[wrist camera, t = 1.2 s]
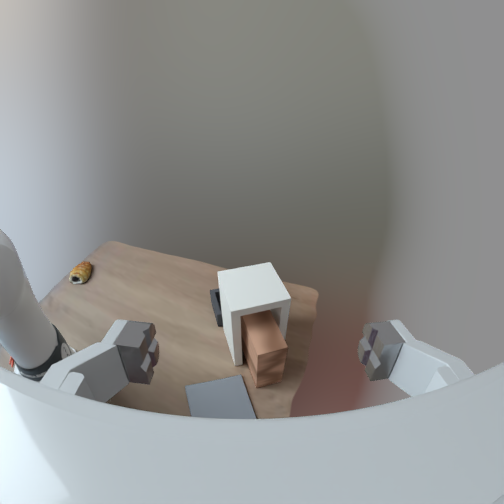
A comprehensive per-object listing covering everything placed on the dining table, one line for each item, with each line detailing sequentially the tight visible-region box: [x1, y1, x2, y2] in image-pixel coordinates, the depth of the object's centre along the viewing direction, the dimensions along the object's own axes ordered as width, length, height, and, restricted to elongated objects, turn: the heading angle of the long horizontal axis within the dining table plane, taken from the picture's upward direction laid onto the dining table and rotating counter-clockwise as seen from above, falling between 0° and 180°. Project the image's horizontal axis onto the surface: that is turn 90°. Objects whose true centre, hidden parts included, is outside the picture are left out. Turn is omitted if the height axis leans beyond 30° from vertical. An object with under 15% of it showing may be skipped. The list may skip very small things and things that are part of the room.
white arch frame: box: [218, 262, 291, 366], centre depth 51 cm, size 10×10×16 cm
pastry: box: [69, 262, 92, 284], centre depth 71 cm, size 9×7×4 cm
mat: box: [185, 375, 256, 419], centre depth 43 cm, size 11×11×1 cm
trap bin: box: [210, 289, 241, 327], centre depth 62 cm, size 12×8×4 cm, turn 107°
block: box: [241, 310, 288, 388], centre depth 48 cm, size 5×10×12 cm, turn 17°
